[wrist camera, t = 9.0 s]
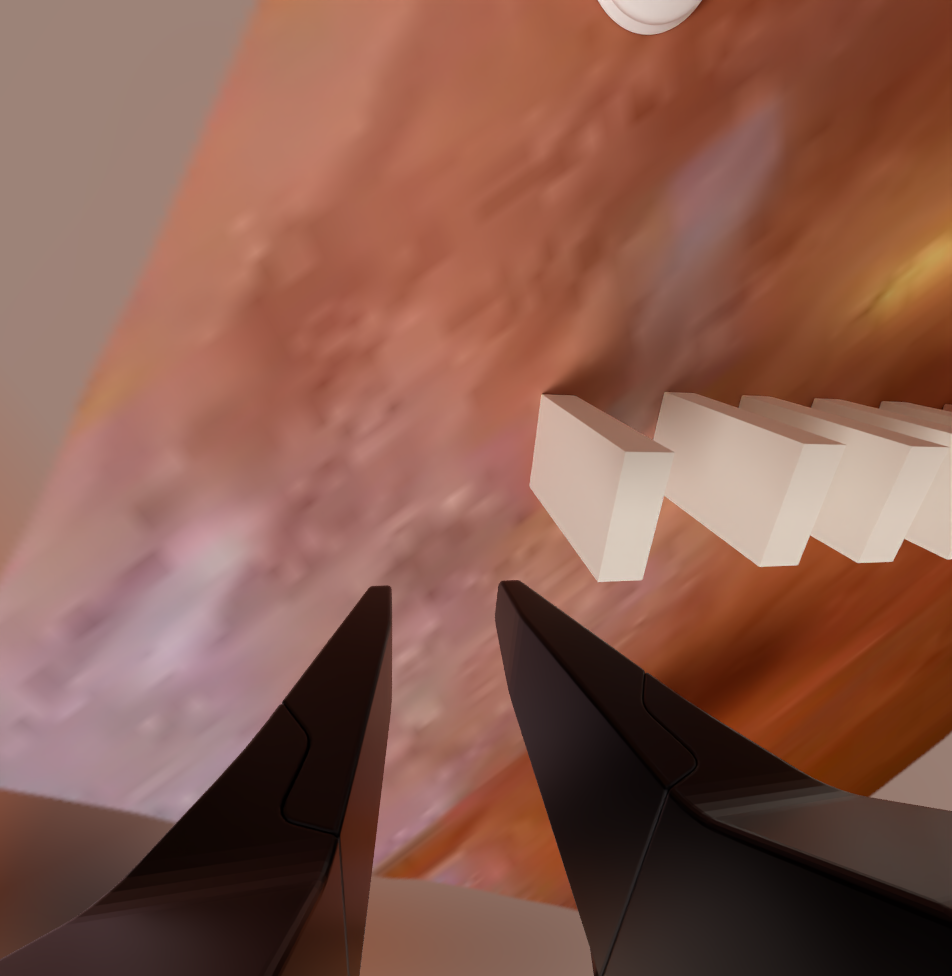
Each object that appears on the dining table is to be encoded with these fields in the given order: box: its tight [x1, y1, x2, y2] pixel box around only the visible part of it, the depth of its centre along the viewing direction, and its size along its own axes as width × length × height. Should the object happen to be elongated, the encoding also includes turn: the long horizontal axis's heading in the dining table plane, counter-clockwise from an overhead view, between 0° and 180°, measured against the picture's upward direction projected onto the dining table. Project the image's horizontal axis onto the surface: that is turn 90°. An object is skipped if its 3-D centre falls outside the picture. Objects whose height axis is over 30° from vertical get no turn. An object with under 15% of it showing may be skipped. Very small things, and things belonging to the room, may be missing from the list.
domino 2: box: [653, 392, 846, 567], centre depth 19 cm, size 4×2×8 cm, turn 176°
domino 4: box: [811, 398, 952, 559], centre depth 21 cm, size 4×2×8 cm, turn 176°
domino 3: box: [738, 395, 950, 563], centre depth 20 cm, size 4×2×8 cm, turn 176°
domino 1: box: [530, 394, 675, 582], centre depth 18 cm, size 4×2×8 cm, turn 176°
